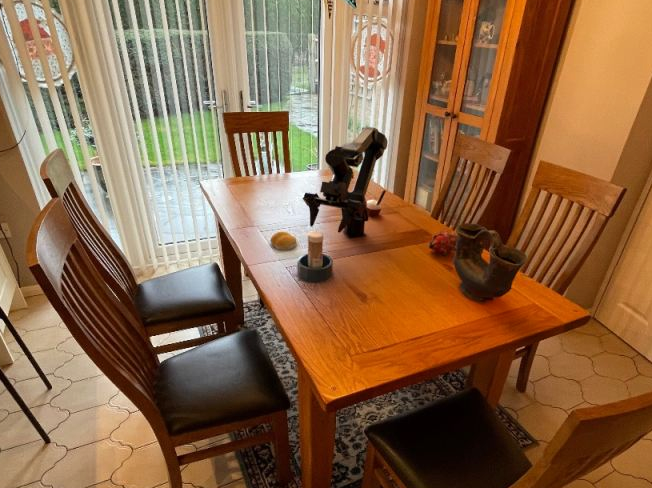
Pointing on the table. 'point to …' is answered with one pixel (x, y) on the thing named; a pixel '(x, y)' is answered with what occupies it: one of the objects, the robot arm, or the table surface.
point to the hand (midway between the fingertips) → (324, 229)
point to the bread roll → (283, 240)
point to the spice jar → (315, 249)
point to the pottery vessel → (485, 263)
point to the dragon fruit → (443, 243)
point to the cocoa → (375, 206)
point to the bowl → (315, 270)
